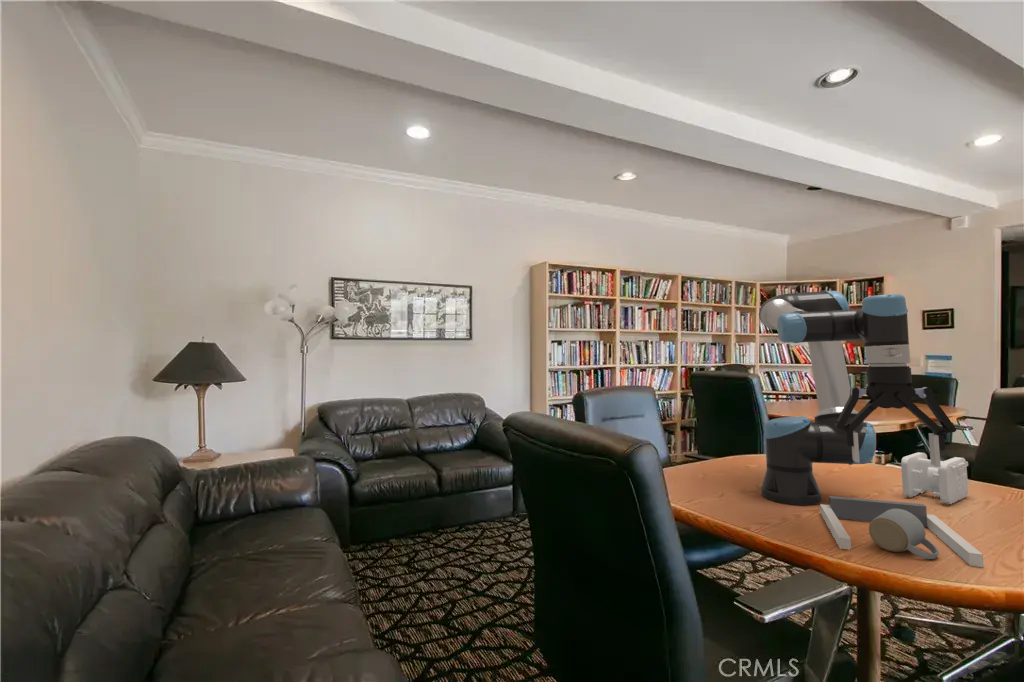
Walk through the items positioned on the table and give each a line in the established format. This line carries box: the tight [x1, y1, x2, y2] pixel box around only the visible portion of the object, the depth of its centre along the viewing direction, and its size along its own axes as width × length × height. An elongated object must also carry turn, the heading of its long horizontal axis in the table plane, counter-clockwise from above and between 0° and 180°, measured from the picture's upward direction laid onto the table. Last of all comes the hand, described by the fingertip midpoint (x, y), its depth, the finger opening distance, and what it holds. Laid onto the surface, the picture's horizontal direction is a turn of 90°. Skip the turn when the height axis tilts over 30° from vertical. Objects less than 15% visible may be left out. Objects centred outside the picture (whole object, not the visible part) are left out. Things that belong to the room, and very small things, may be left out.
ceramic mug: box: [868, 509, 940, 560], centre depth 96 cm, size 11×8×8 cm
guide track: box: [819, 495, 985, 568], centre depth 104 cm, size 23×24×5 cm
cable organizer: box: [900, 451, 969, 505], centre depth 129 cm, size 15×11×12 cm
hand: (894, 463), depth 98 cm, fingers open, 13 cm apart
